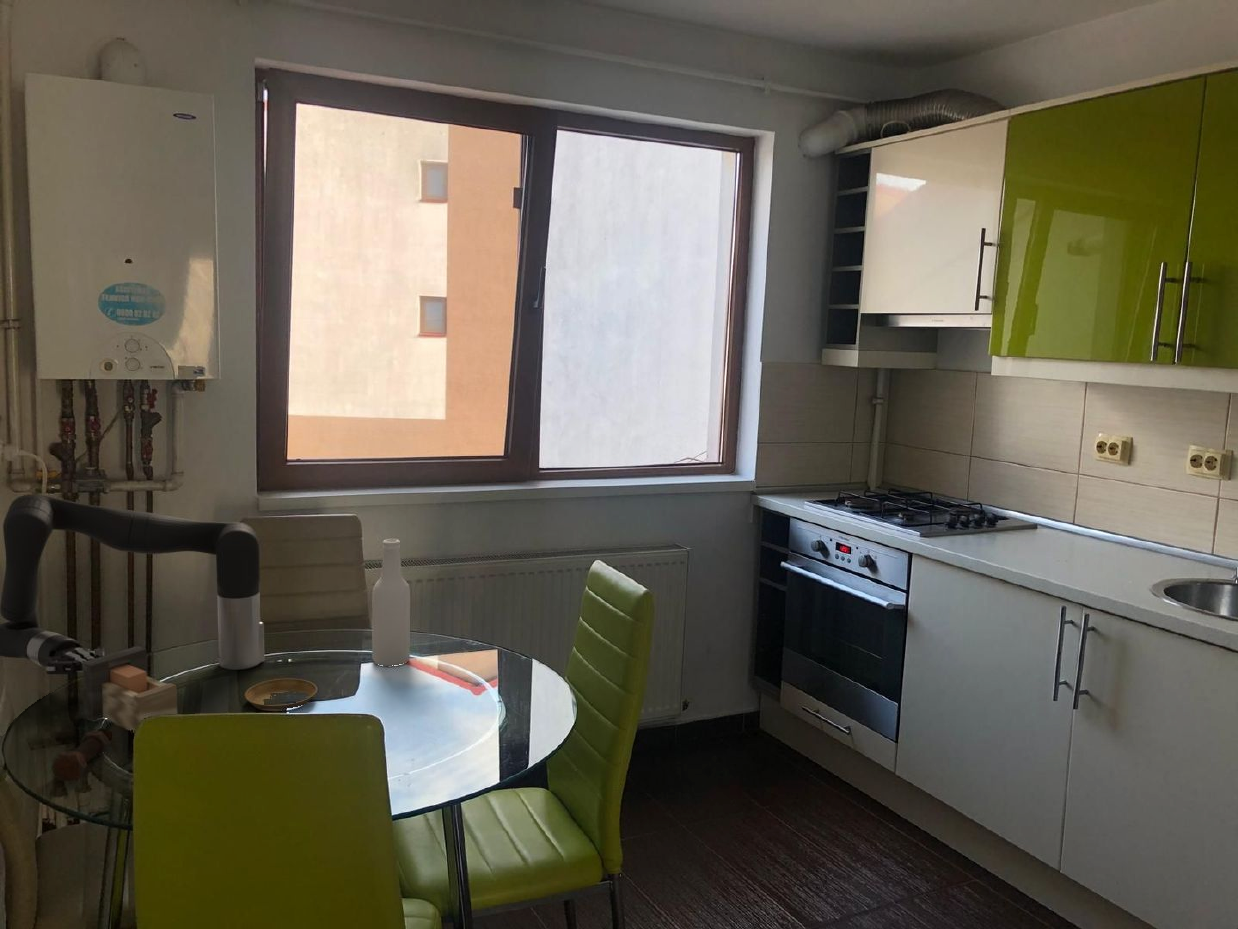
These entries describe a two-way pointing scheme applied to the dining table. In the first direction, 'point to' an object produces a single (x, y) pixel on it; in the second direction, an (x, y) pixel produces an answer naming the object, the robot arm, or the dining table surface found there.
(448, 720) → the dining table surface
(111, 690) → the frame
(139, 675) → the peg
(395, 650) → the alcohol
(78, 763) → the bolt
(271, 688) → the plant saucer
